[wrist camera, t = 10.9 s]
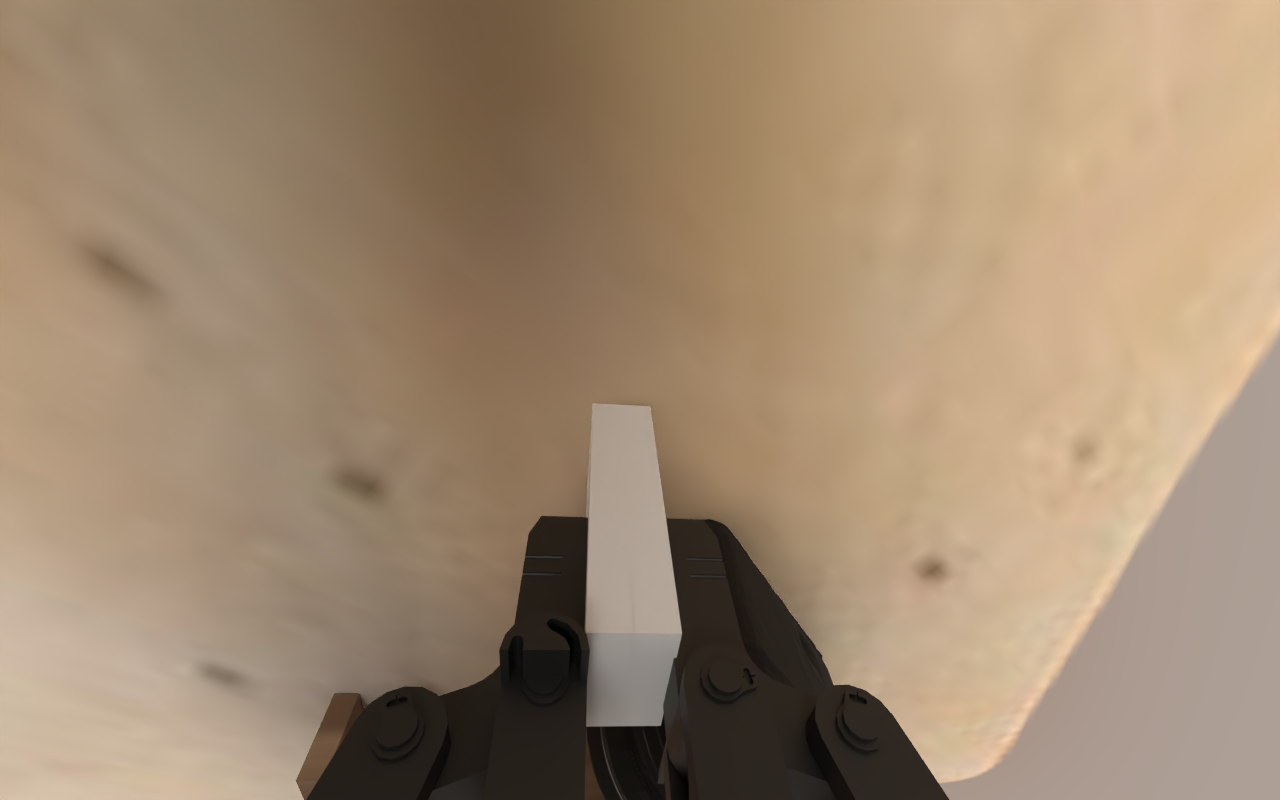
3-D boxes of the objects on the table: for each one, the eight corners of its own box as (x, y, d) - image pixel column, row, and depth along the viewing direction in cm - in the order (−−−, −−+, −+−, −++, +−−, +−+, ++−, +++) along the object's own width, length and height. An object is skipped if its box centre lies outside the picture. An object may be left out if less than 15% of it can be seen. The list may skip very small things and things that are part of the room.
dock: (334, 693, 28) (296, 780, 24) (823, 696, 30) (850, 774, 27) (348, 738, 30) (314, 823, 26) (804, 736, 32) (827, 814, 29)
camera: (523, 591, 25) (480, 863, 16) (733, 496, 22) (812, 753, 14) (666, 727, 31) (689, 972, 23) (840, 663, 29) (938, 909, 20)
